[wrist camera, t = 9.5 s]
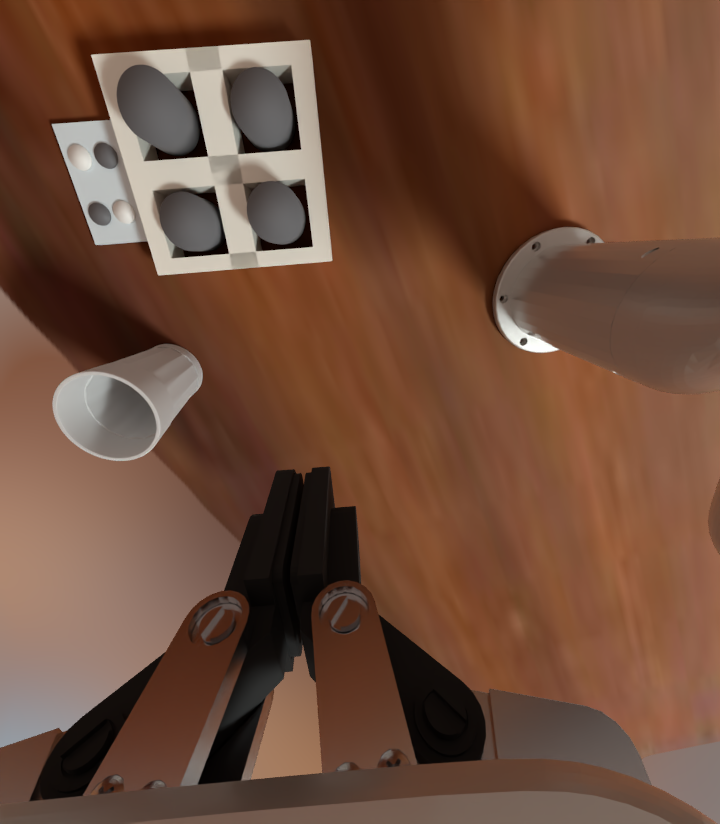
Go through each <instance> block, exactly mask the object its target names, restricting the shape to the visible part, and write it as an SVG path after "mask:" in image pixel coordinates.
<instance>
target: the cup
mask: <svg viewBox="0 0 720 824" xmlns="http://www.w3.org/2000/svg"><path fill="white" fill-rule="evenodd" d="M202 379H203V374H202V369H201V366H200V364H199V362H198V361H197V359H196V358H195V357H194V356H193V355H192V354H191V353H190V352H189V351H187V350H186V349H184V348H182V347H180V346H177V345H173V344H161V345H157V346H155V347H153V348H151V349H149V350H147V351H144V352H141V353H138V354H135V355H132V356H129V357H126V358H123V359H121V360H118V361H115V362H112V363H109V364H105V365H101V366H98V367H95V368H92V369H89V370H86V371H83V372H79V373H76V374H74V375H72V376H69V377H68V378H66V379H65V380H63V381H62V382H61V384H60V385H59V386H58V387H57V389H56V391H55V393H54V397H53V412H54V416H55V419H56V421H57V424H58V425H59V427H60V428H61V430H62V431H63V433H64V434H65V435H66V436H67V437H68V438H69V439H70V440H71V441H72V442H73V443H74V444H75V445H77V446H78V447H79V448H81V449H83V450H84V451H86V452H88V453H90V454H92V455H95V456H97V457H100V458H104V459H108V460H115V461H116V460H117V461H125V460H132V459H136V458H139V457H141V456H143V455H145V454H147V453H148V452H149V451H151V450H152V449H153V448H154V446H155V445H156V444H157V442H158V441H159V439H160V438H161V437H162V435H163V434H164V432H165V431H166V430H167V428H168V427H169V425H170V424H171V422H172V420H173V419H174V418H175V416H176V415H177V414H178V412H179V411H180V410H181V409H182V407H183V406H184V405H185V403H186V402H187V401H188V399H189V398H190V397H191V396H192V395H193V394H194V393H195V392H196V391H197V390H198V389H199V388H200V386H201V383H202Z"/></svg>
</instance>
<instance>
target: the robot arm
mask: <svg viewBox="0 0 720 824" xmlns="http://www.w3.org/2000/svg"><path fill="white" fill-rule="evenodd" d="M586 242H587V243H586ZM532 245H534V247H533V249H532ZM501 296H502V299H501V300H500V297H501ZM493 314H494V318H495V322H496V325H497V327H498V329H499V331H500V332H501V334H502V335H503V336H504V337H505V339H506V340H508V341H509V342H510V343H511V344H513V345H514V346H516V347H518V348H520V349H523V350H526V351H529V352H535V353H546V352H553V351H557V350H562V351H564V352H567V353H569V354H571V355H574V356H576V357H578V358H581V359H583V360H585V361H588V362H590V363H592V364H595V365H597V366H599V367H602V368H604V369H606V370H609V371H611V372H613V373H616V374H618V375H620V376H623V377H625V378H627V379H630V380H632V381H634V382H637V383H640V384H642V385H644V386H647V387H649V388H652V389H655V390H659V391H662V392H667V393H673V394H703V393H710V392H716V391H720V238H703V239H680V240H656V241H633V242H610V243H605V242H604V241H603V240H602V239H601V238H600V237H599V236H598V235H596V234H594V233H592V232H591V231H589V230H586V229H582V228H579V227H561V228H554V229H551V230H547V231H544V232H542V233H540V234H538V235H536V236H534V237H532V238H530V239H529V240H528V241H526V242H525V243H524V244H522V245H521V246H520V247H519V248H518V249H517V250H516V251H515V252H514V253H513V254H512V255H511V257H510V258H509V259H508V261H507V262H506V264H505V265H504V267H503V269H502V271H501V273H500V275H499V277H498V279H497V282H496V285H495V289H494V295H493ZM521 339H522V340H521ZM520 340H521V341H520ZM708 526H709V533H710V536H711V539H712V542H713V544H714V547H715V548H716V550H717V551H718V553H719V554H720V479H719V482H718V484H717V487H716V490H715V493H714V496H713V499H712V503H711V506H710V510H709V518H708ZM302 645H303V646H304V651H305V656H306V660H307V664H308V669H309V674H310V676H311V678H312V679H313V680H314V681H315V682H316V689H317V705H318V719H319V733H320V747H321V761H322V773H319V774H308V775H297V776H286V777H275V778H265V779H254V780H251V776H252V773H253V769H254V766H255V762H256V759H257V755H258V751H259V748H260V744H261V740H262V737H263V734H264V730H265V726H266V723H267V719H268V715H269V712H270V708H271V705H272V700H273V694H274V688H275V687H276V686H277V685H278V684H279V683H280V681H282V680H283V678H284V672H290V671H293V662H294V657H296V656H301V653H302ZM0 824H717V823H716V822H714V821H713V820H711V819H710V818H708V817H707V816H705V815H704V814H702V813H701V812H700V811H698V810H696V809H695V808H693V807H692V806H690V805H689V804H687V803H685V802H683V801H681V800H679V799H677V798H676V797H674V796H672V795H670V794H669V793H667V792H665V791H663V790H661V789H659V788H656V787H654V786H652V785H651V782H650V780H649V777H648V775H647V772H646V770H645V767H644V765H643V762H642V760H641V757H640V755H639V753H638V751H637V750H636V748H635V746H634V744H633V742H632V741H631V739H630V737H629V736H628V735H627V734H626V733H625V732H624V730H623V729H622V728H621V727H620V726H619V725H618V724H617V723H616V722H615V721H614V720H612V719H611V718H609V717H608V716H607V715H605V714H604V713H602V712H601V711H598V710H595V709H593V708H590V707H587V706H582V705H577V704H571V703H566V702H560V701H555V700H549V699H544V698H538V697H533V696H527V695H522V694H516V693H511V692H505V691H500V690H494V689H489V693H485V692H479V691H474V690H470V689H469V688H468V687H467V686H466V685H465V684H464V683H463V682H462V681H461V680H460V679H458V678H457V677H456V676H455V675H453V674H452V673H451V672H450V671H448V670H447V669H446V668H445V667H443V666H442V665H441V664H440V663H438V662H437V661H436V660H435V659H433V658H432V657H431V656H430V655H429V654H427V653H426V652H425V651H424V650H422V649H421V648H420V647H419V646H417V645H416V644H415V643H414V642H412V641H411V640H410V639H409V638H407V637H406V636H405V635H404V634H402V633H401V632H400V631H399V630H397V629H396V628H395V627H394V626H392V625H391V624H390V623H389V622H387V621H386V620H385V619H384V618H382V617H381V616H380V615H379V614H378V611H377V607H376V603H375V600H374V598H373V596H372V593H371V592H370V591H369V590H368V589H367V588H366V587H365V586H363V585H362V584H361V574H360V556H359V540H358V527H357V516H356V506H352V507H340V508H335V504H334V496H333V488H332V480H331V471H330V467H318V468H312V473H306V475H305V481H304V484H303V478H302V474H301V473H300V474H296V472H295V470H294V469H293V470H280V471H276V474H275V477H274V480H273V484H272V487H271V490H270V494H269V497H268V500H267V503H266V507H265V510H264V513H263V514H255V515H252V516H251V517H250V519H249V521H248V524H247V527H246V530H245V533H244V535H243V538H242V541H241V544H240V547H239V550H238V553H237V555H236V558H235V561H234V564H233V567H232V570H231V573H230V576H229V578H228V581H227V584H226V587H225V590H224V591H221V592H217V593H215V594H212V595H210V596H208V597H206V598H205V599H203V600H201V601H200V602H199V603H198V604H197V605H196V606H195V607H193V609H192V610H191V611H190V612H189V614H188V615H187V617H186V618H185V620H184V621H183V623H182V625H181V626H180V628H179V630H178V632H177V633H176V635H175V637H174V638H173V641H172V642H171V644H170V645H169V647H168V649H167V651H166V652H165V653H164V654H162V655H161V656H160V657H158V658H157V659H156V660H155V661H153V662H152V663H151V664H149V665H148V666H147V667H146V668H144V669H143V670H142V671H141V672H139V673H138V674H137V675H135V676H134V677H133V678H132V679H130V680H129V681H128V682H127V683H125V684H124V685H123V686H121V687H120V688H119V689H118V690H116V691H115V692H114V693H112V694H111V695H110V696H108V697H107V698H106V699H105V700H103V701H102V702H101V703H99V704H98V705H97V706H96V707H94V708H93V709H92V710H91V711H89V712H88V713H87V714H85V715H84V716H83V717H82V718H81V719H80V720H78V721H77V722H76V723H75V724H74V725H73V726H72V727H71V728H70V729H68V731H65V732H62V731H61V730H60V729H59V728H57V729H54V730H51V731H48V732H45V733H42V734H39V735H37V736H34V737H31V738H28V739H25V740H22V741H19V742H16V743H13V744H10V745H7V746H4V747H1V748H0Z"/></svg>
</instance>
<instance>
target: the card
mask: <svg viewBox="0 0 720 824" xmlns="http://www.w3.org/2000/svg"><path fill="white" fill-rule="evenodd" d="M52 127H53V129H54V132H55V135H56V138H57V140H58V143H59V146H60V149H61V151H62V154H63V157H64V160H65V162H66V165H67V168H68V171H69V173H70V176H71V179H72V181H73V184H74V187H75V190H76V192H77V195H78V198H79V201H80V203H81V206H82V209H83V212H84V214H85V217H86V220H87V223H88V225H89V228H90V231H91V234H92V236H93V239H94V242H95V245H108V244H121V243H133V242H146V241H148V240H147V237H146V234H145V231H144V227H143V224H142V221H141V217H140V214H139V211H138V208H137V204H136V201H135V198H134V194H133V191H132V188H131V185H130V181H129V178H128V175H127V171H126V168H125V165H124V162H123V158H122V155H121V152H120V148H119V145H118V142H117V139H116V135H115V132H114V129H113V125H112V122H111V120H102V121H88V122H74V123H60V124H52Z"/></svg>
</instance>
